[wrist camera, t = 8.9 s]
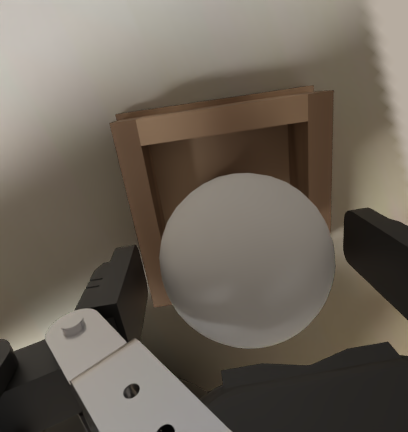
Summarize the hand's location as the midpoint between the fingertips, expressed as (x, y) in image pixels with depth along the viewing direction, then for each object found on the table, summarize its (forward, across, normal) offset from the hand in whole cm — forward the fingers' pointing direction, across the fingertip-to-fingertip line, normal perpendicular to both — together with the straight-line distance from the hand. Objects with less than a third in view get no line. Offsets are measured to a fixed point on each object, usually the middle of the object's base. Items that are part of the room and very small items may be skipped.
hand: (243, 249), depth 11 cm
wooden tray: (+8, 0, 0) cm, 8 cm away
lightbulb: (+8, 0, 0) cm, 8 cm away
